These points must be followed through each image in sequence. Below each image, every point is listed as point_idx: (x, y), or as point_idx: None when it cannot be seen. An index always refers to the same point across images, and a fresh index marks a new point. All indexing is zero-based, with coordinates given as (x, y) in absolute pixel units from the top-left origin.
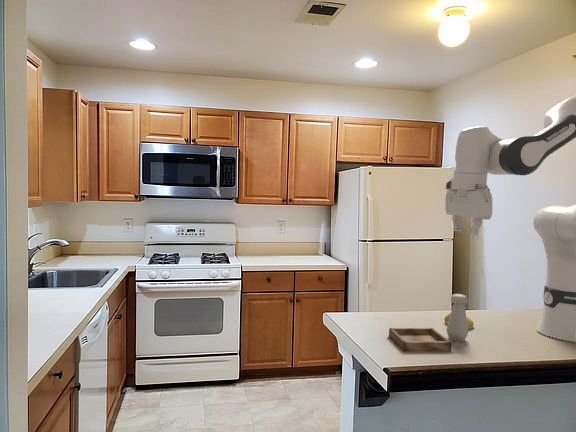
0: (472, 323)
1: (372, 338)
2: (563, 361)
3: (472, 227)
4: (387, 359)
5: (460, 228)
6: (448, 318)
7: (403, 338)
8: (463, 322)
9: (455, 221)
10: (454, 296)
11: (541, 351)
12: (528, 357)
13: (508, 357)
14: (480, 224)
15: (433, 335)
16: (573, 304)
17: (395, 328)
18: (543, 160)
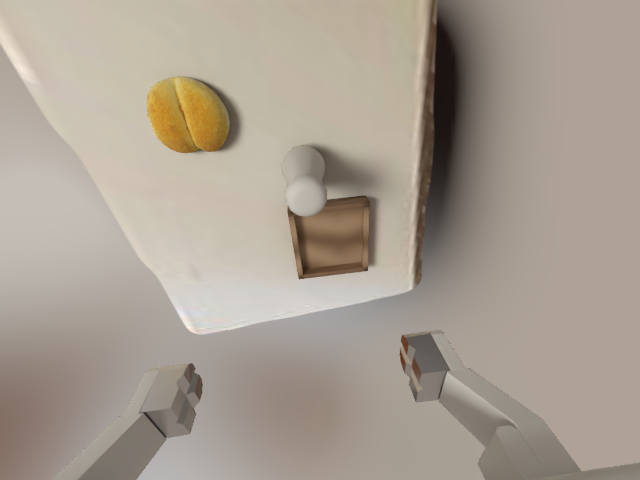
0: (207, 89)
1: (311, 290)
2: None
3: (453, 406)
4: (390, 283)
5: (180, 388)
6: (190, 148)
7: (321, 257)
8: (321, 169)
9: (129, 476)
10: (314, 214)
11: None
12: (408, 40)
13: (402, 93)
14: (517, 409)
15: None
16: None
17: (300, 271)
18: None
